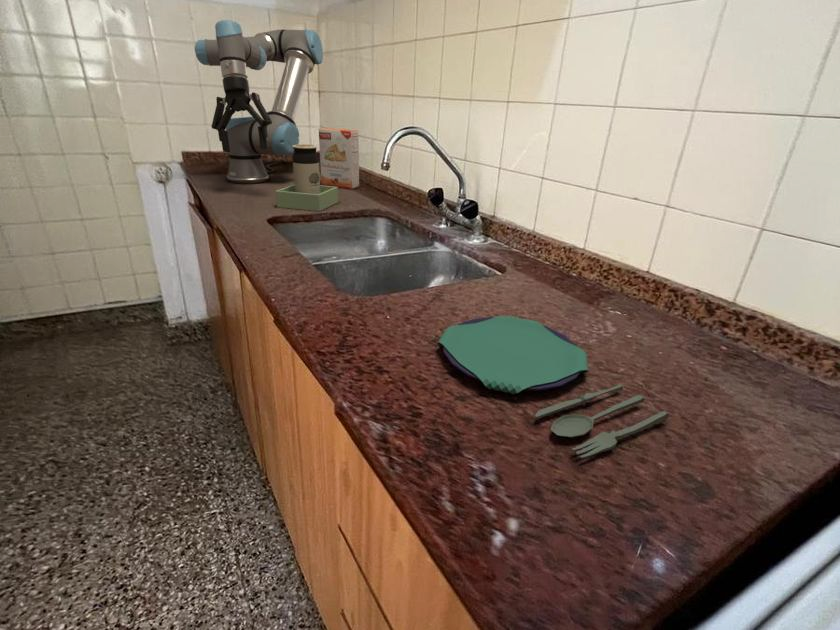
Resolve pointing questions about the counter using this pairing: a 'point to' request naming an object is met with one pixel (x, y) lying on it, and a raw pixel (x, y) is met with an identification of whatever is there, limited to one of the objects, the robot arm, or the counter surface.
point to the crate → (307, 198)
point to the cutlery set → (534, 371)
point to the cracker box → (339, 157)
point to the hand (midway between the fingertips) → (245, 150)
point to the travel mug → (306, 169)
